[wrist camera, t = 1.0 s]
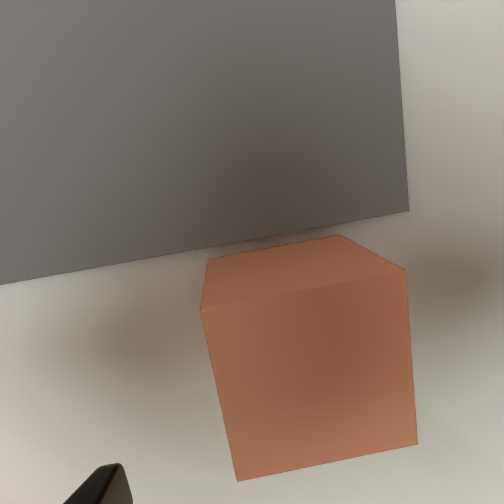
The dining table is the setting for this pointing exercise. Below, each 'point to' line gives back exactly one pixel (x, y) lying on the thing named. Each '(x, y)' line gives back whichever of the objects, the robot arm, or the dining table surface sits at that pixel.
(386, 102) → the mat
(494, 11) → the dining table surface
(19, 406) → the dining table surface
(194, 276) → the dining table surface
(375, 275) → the block
